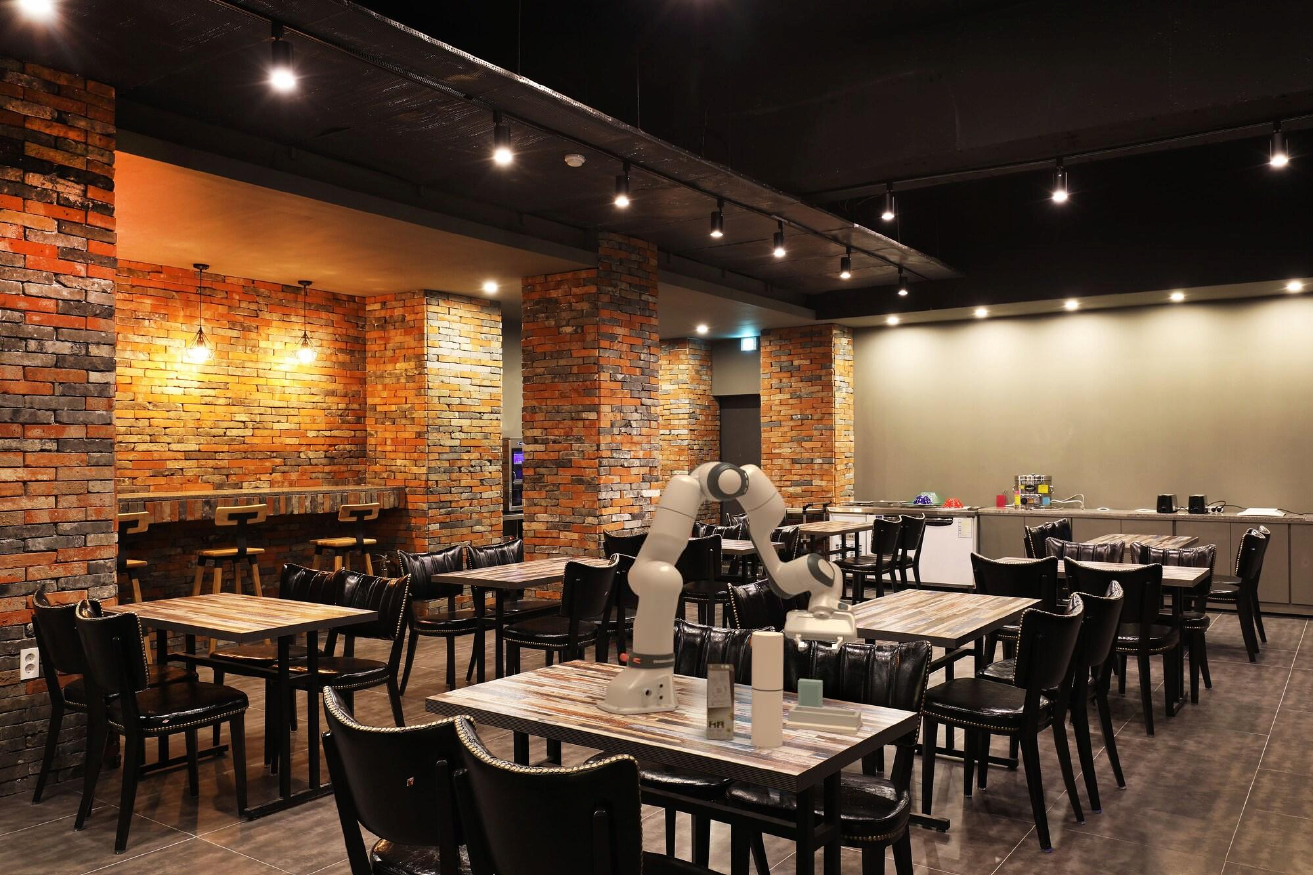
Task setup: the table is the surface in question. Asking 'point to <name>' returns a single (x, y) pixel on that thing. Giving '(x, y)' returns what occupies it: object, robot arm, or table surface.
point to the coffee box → (720, 701)
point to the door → (810, 693)
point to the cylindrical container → (767, 689)
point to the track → (824, 719)
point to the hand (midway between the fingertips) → (817, 650)
